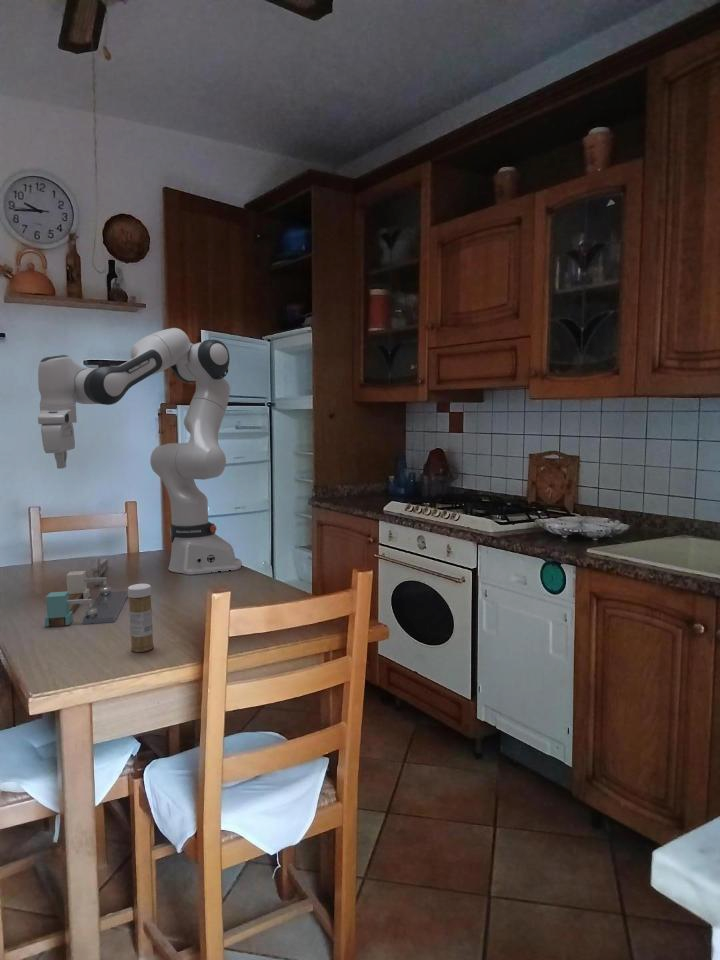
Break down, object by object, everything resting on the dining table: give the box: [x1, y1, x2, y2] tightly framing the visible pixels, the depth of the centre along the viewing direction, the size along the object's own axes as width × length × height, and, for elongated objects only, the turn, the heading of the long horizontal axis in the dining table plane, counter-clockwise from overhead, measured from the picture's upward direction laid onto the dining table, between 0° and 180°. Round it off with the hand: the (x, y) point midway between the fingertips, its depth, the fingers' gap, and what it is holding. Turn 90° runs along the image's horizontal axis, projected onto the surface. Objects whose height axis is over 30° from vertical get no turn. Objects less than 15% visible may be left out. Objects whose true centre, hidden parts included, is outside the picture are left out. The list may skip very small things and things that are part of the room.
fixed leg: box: [66, 570, 108, 599], centre depth 179 cm, size 10×4×7 cm, turn 101°
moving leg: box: [44, 590, 93, 627], centre depth 159 cm, size 10×4×7 cm, turn 101°
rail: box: [50, 593, 83, 627], centre depth 168 cm, size 3×24×2 cm, turn 11°
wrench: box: [90, 558, 109, 587], centre depth 202 cm, size 8×2×30 cm
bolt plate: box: [82, 586, 129, 625], centre depth 170 cm, size 7×24×3 cm, turn 11°
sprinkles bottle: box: [127, 583, 154, 653], centre depth 140 cm, size 5×5×13 cm
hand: (61, 468), depth 183 cm, fingers closed
